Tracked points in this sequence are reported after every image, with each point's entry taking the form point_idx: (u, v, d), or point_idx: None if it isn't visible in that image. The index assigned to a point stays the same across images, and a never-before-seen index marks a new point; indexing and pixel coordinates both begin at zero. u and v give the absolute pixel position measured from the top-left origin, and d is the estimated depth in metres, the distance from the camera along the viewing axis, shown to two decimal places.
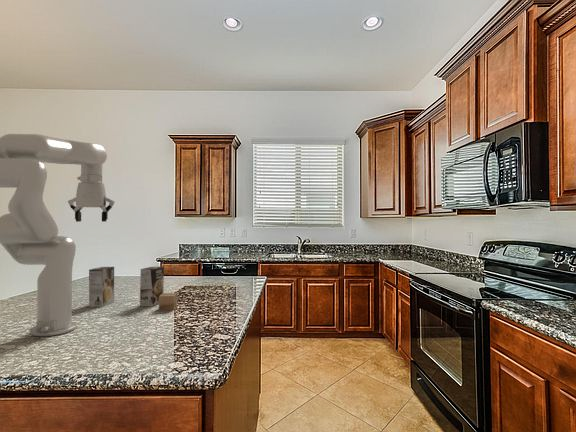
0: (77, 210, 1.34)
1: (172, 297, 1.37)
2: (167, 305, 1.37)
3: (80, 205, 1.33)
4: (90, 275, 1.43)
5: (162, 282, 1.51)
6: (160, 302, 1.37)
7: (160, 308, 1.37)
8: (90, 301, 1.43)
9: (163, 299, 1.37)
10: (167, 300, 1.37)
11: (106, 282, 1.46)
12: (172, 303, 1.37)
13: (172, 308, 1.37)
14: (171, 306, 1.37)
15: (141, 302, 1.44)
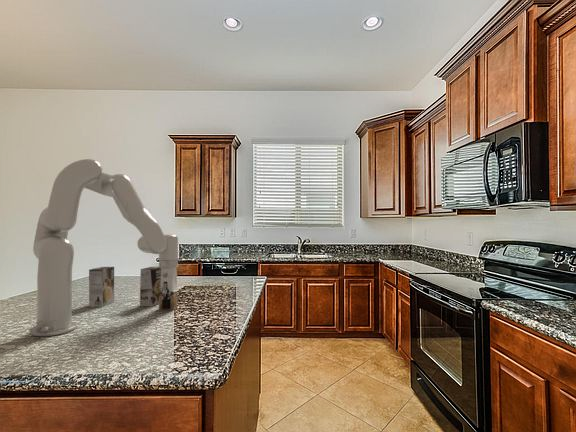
0: None
1: (172, 297, 1.37)
2: None
3: (173, 290, 1.37)
4: (90, 275, 1.43)
5: None
6: (160, 302, 1.37)
7: (160, 308, 1.37)
8: (90, 301, 1.43)
9: None
10: None
11: (106, 282, 1.46)
12: (172, 303, 1.37)
13: (172, 308, 1.37)
14: (171, 306, 1.37)
15: (141, 302, 1.44)
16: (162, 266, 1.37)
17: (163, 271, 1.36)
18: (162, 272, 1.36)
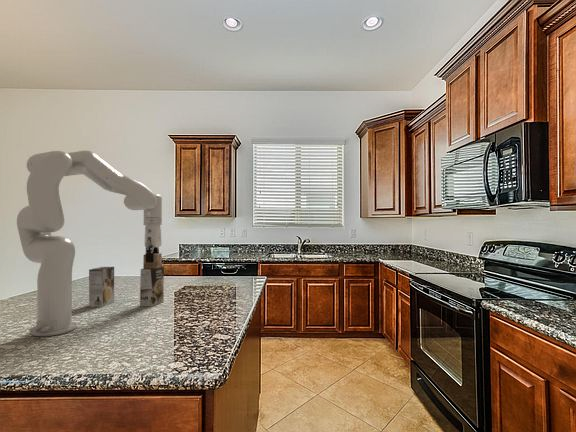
0: None
1: (156, 256, 1.46)
2: (151, 263, 1.45)
3: (156, 246, 1.46)
4: (90, 275, 1.43)
5: (162, 282, 1.51)
6: (144, 260, 1.45)
7: (144, 266, 1.45)
8: (90, 301, 1.43)
9: None
10: None
11: (106, 282, 1.46)
12: (156, 261, 1.46)
13: (156, 266, 1.46)
14: (155, 264, 1.45)
15: (141, 302, 1.44)
16: (146, 223, 1.45)
17: (147, 227, 1.44)
18: (146, 228, 1.44)
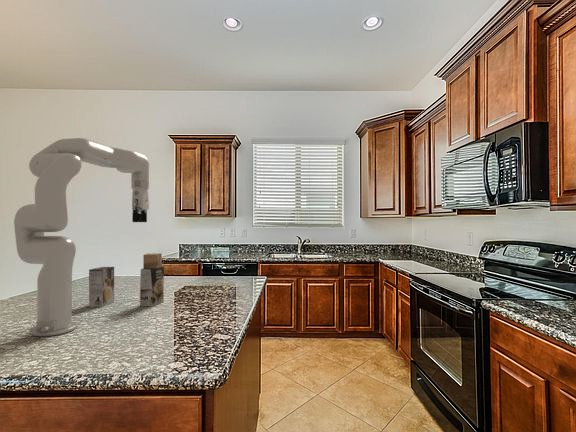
0: None
1: (156, 256, 1.46)
2: (151, 263, 1.45)
3: (143, 208, 1.53)
4: (90, 275, 1.43)
5: (162, 282, 1.51)
6: (144, 260, 1.45)
7: (144, 266, 1.45)
8: (90, 301, 1.43)
9: (147, 257, 1.45)
10: (151, 259, 1.45)
11: (106, 282, 1.46)
12: (156, 261, 1.46)
13: (156, 266, 1.46)
14: (155, 264, 1.45)
15: (141, 302, 1.44)
16: (134, 186, 1.52)
17: (134, 190, 1.51)
18: (133, 190, 1.51)
